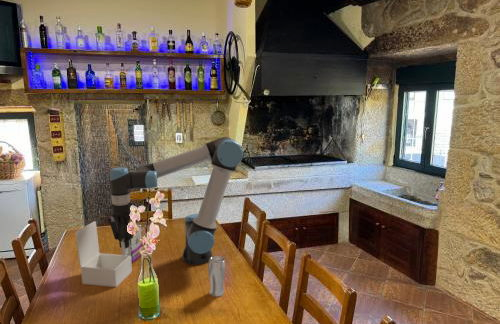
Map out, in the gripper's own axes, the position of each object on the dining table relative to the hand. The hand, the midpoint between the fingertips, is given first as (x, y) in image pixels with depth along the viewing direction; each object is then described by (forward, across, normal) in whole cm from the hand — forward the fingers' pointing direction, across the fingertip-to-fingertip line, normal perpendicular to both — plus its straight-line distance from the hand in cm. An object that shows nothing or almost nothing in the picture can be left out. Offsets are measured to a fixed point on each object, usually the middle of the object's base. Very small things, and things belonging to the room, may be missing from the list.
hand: (125, 254), depth 155 cm
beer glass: (+13, +43, -4) cm, 45 cm away
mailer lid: (-4, -17, 0) cm, 18 cm away
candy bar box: (+12, -7, +20) cm, 24 cm away
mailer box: (+12, -9, 0) cm, 15 cm away
